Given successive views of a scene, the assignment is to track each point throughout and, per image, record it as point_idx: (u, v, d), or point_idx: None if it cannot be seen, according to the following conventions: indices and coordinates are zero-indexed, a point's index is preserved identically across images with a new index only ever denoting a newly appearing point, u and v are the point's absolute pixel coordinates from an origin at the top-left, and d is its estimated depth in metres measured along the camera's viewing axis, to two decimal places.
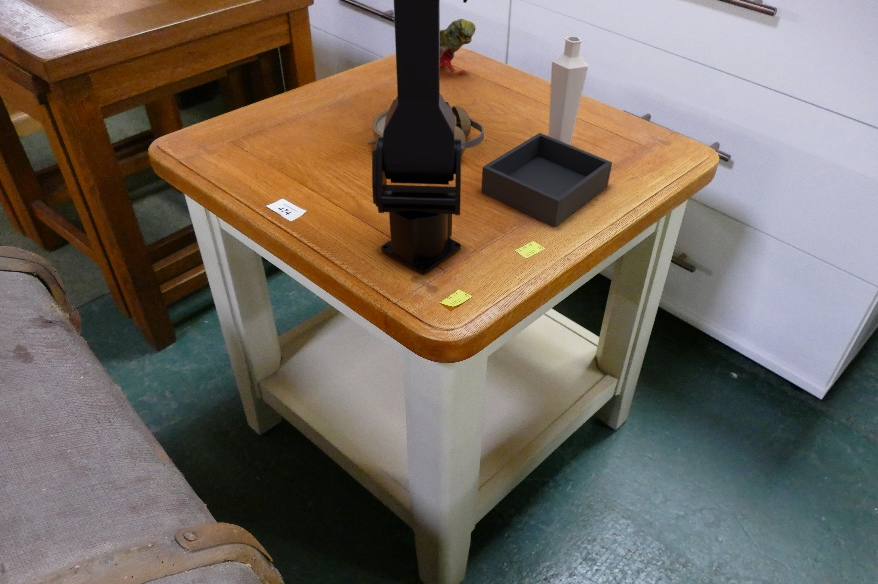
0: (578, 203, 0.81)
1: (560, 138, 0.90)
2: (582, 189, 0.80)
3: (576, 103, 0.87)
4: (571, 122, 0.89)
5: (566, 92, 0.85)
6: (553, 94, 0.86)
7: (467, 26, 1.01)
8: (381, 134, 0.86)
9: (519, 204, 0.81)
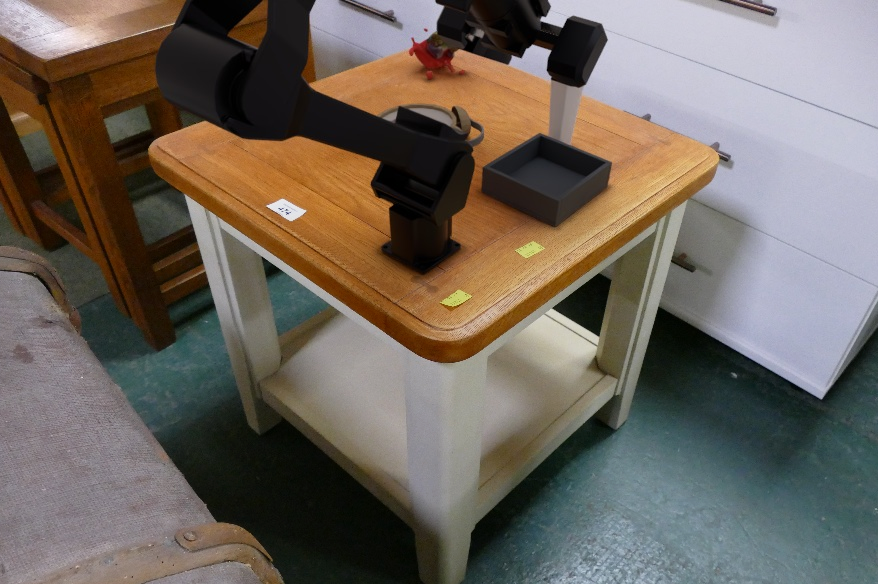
0: (578, 203, 0.81)
1: (560, 138, 0.90)
2: (582, 189, 0.80)
3: (576, 103, 0.87)
4: (571, 122, 0.89)
5: (566, 92, 0.85)
6: (553, 94, 0.86)
7: None
8: None
9: (519, 204, 0.81)
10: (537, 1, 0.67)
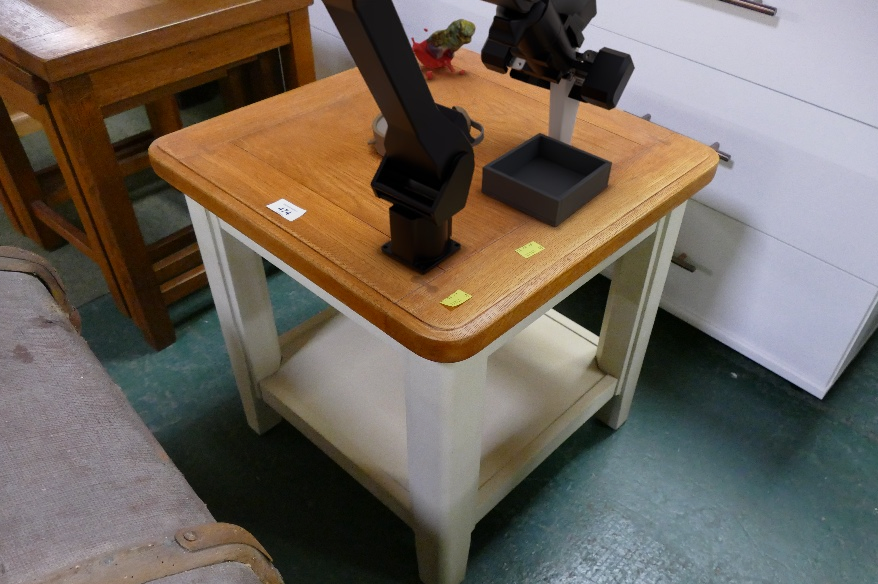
0: (578, 203, 0.81)
1: (560, 138, 0.90)
2: (582, 189, 0.80)
3: (576, 103, 0.87)
4: (571, 121, 0.89)
5: (566, 92, 0.85)
6: (553, 94, 0.86)
7: (467, 26, 1.01)
8: (381, 134, 0.86)
9: (519, 204, 0.81)
10: (573, 35, 0.76)
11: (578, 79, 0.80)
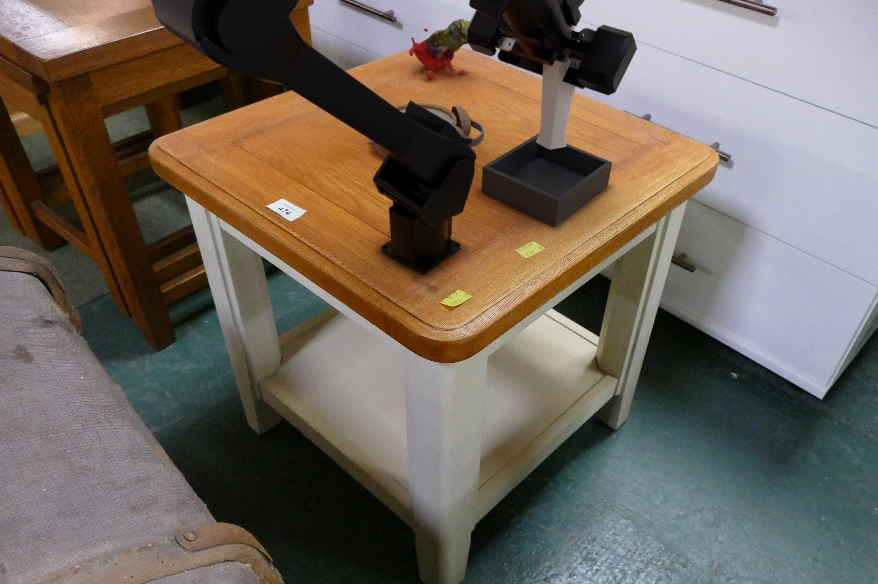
0: (578, 203, 0.81)
1: (554, 128, 0.82)
2: (582, 189, 0.80)
3: (571, 89, 0.79)
4: (565, 110, 0.81)
5: (560, 77, 0.77)
6: (545, 79, 0.78)
7: (467, 26, 1.01)
8: None
9: (519, 204, 0.81)
10: (569, 10, 0.68)
11: (574, 61, 0.72)
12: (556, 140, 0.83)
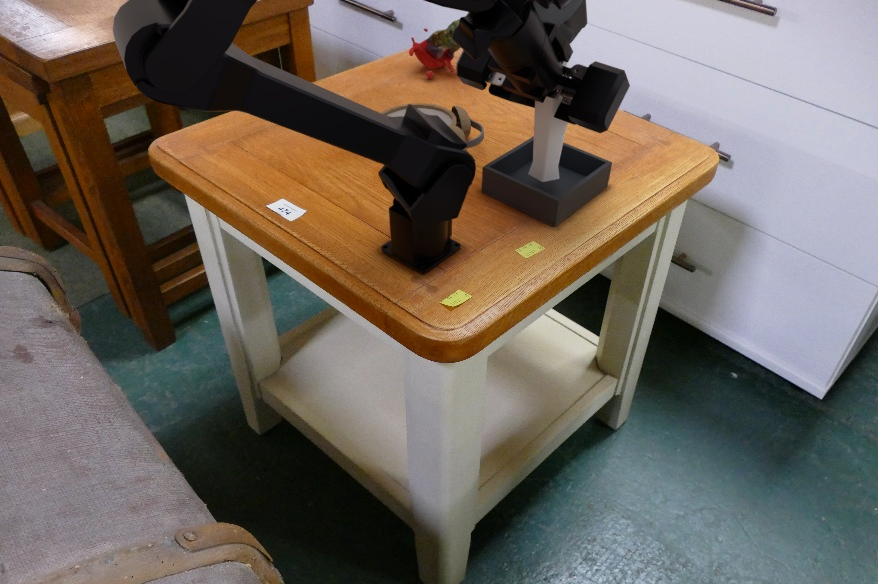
0: (578, 203, 0.81)
1: (546, 161, 0.80)
2: (582, 189, 0.80)
3: (563, 122, 0.77)
4: (558, 143, 0.79)
5: (552, 111, 0.75)
6: (538, 112, 0.77)
7: None
8: None
9: (519, 204, 0.81)
10: (560, 47, 0.67)
11: (565, 97, 0.70)
12: (548, 173, 0.81)
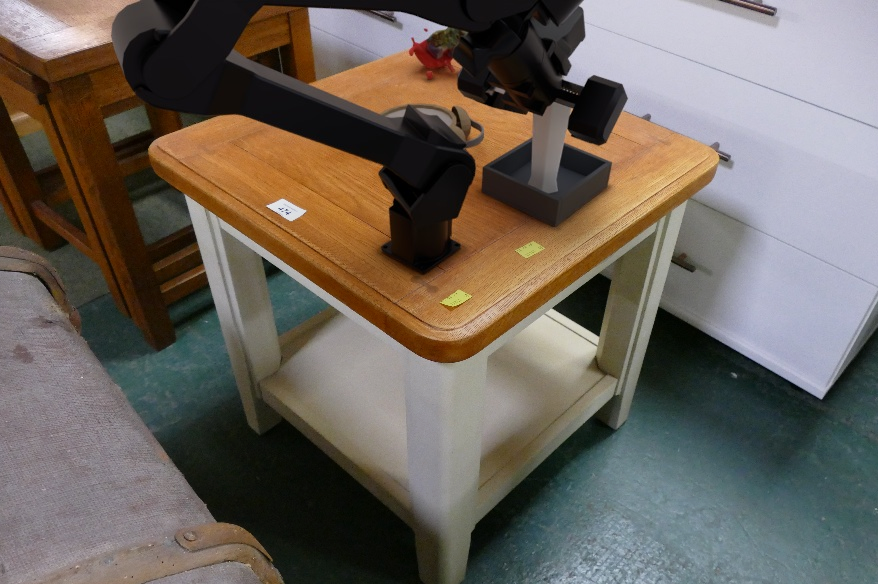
0: (578, 203, 0.81)
1: (544, 174, 0.81)
2: (582, 189, 0.80)
3: (561, 137, 0.78)
4: (556, 157, 0.80)
5: (550, 126, 0.77)
6: (535, 127, 0.78)
7: None
8: None
9: (519, 204, 0.81)
10: (558, 62, 0.68)
11: None
12: (547, 186, 0.83)
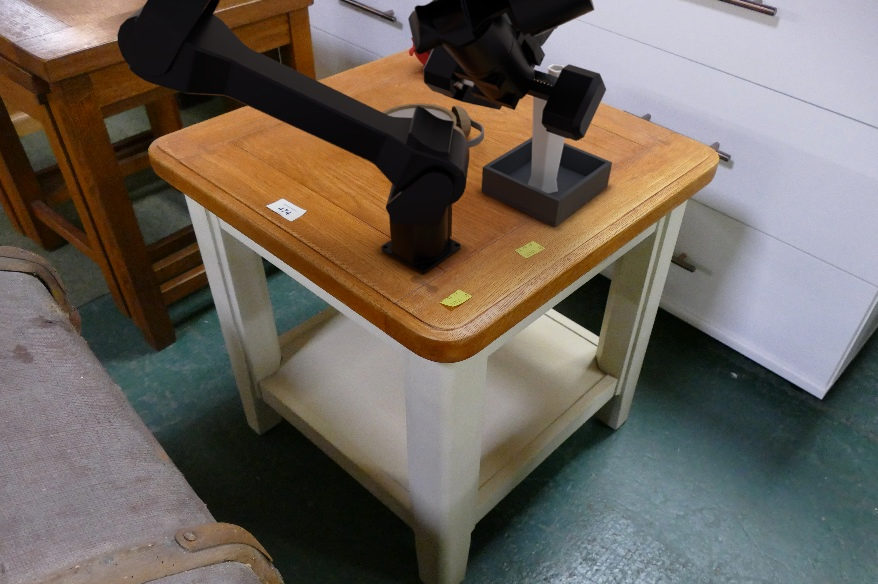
0: (578, 203, 0.81)
1: (544, 174, 0.81)
2: (582, 189, 0.80)
3: (561, 137, 0.78)
4: (556, 157, 0.80)
5: None
6: (535, 127, 0.78)
7: None
8: None
9: (519, 204, 0.81)
10: (530, 50, 0.63)
11: None
12: (547, 186, 0.83)
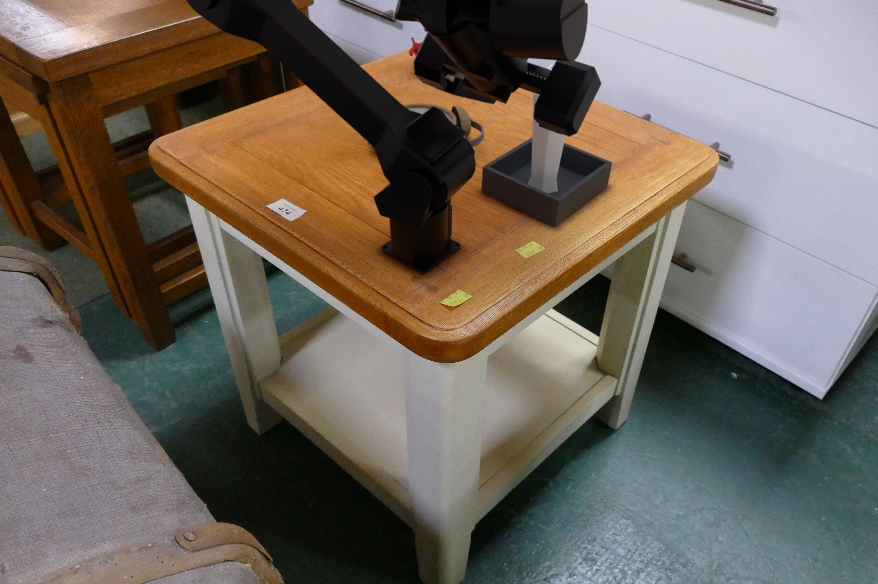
0: (578, 203, 0.81)
1: (544, 174, 0.81)
2: (582, 189, 0.80)
3: (561, 137, 0.78)
4: (555, 157, 0.80)
5: None
6: (535, 127, 0.78)
7: None
8: None
9: (519, 204, 0.81)
10: None
11: None
12: (547, 186, 0.83)
